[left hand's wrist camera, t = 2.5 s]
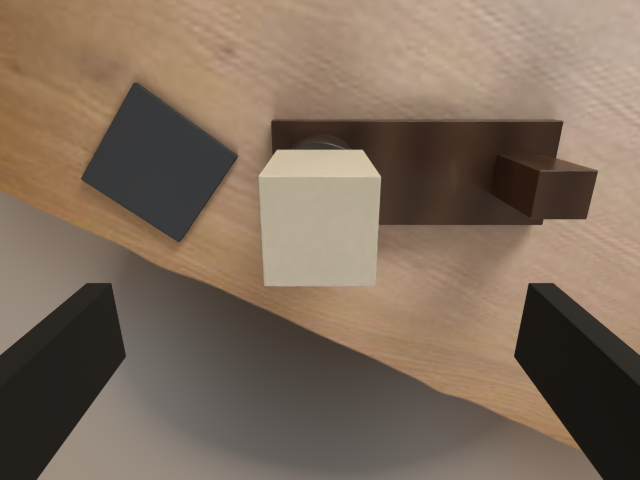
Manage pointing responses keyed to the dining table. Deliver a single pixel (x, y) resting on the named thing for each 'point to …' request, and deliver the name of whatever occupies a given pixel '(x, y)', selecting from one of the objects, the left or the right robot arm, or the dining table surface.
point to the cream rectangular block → (319, 218)
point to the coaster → (158, 163)
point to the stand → (456, 168)
